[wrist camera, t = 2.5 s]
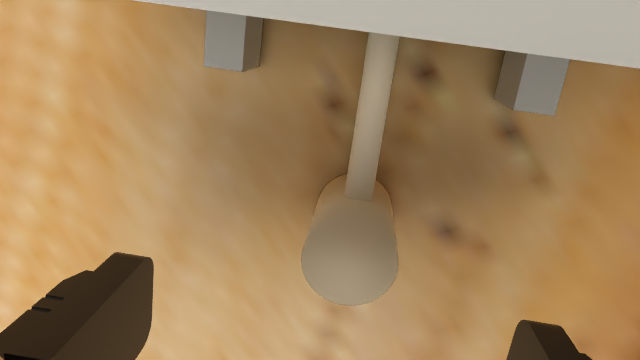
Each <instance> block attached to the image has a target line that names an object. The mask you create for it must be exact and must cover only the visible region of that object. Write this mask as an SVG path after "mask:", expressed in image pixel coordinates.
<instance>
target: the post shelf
mask: <svg viewBox="0 0 640 360" xmlns="http://www.w3.org/2000/svg"><path fill="white" fill-rule="evenodd" d="M134 1H141V2H149V3H156V4H164V5H171V6H179V7H186V8H193V9H201V10H207V14H206V33H205V51H204V67H211V68H218V69H225V70H232V71H239V72H243V71H246V70H249V69H252V68H255V67H258V66H259V61H260V50H261V39H262V27H263V18H268V19H275V20H283V21H290V22H298V23H305V24H312V25H320V26H327V27H335V28H342V29H350V30H357V31H364V32H372V33H379V34H387V35H394V36H402V37H409V38H416V39H424V40H431V41H439V42H446V43H454V44H461V45H468V46H476V47H483V48H491V49H498V50H505V54H504V59H503V63H502V67H501V71H500V76H499V80H498V84H497V88H496V93H495V97H494V99H495V100H496V101H498V102H500V103H502V104H503V105H505V106H507V107H509V108H510V109H512V110H515V111H523V112H530V113H537V114H544V115H551V116H555V112H556V109H557V105H558V102H559V98H560V94H561V91H562V87H563V84H564V80H565V76H566V73H567V69H568V65H569V62H570V59H572V60H580V61H587V62H595V63H602V64H610V65H617V66H624V67H632V68H639V69H640V0H134Z"/></svg>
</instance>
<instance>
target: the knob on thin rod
mask: <svg viewBox="0 0 640 360" xmlns="http://www.w3.org/2000/svg"><path fill="white" fill-rule="evenodd" d="M399 39H400V36H394V35H387V34H379V33H372V32H369V35H368V42H367V48H366V55H365V61H364V68H363V75H362V81H361V88H360V94H359V101H358V107H357V114H356V121H355V127H354V134H353V140H352V147H351V153H350V160H349V167H348V173H347V174H346V175H342V176H339V177H337V178H335V179H333V180H332V181H331V182H329V183H328V184H327V185H326V186H325V187H324V189H323V190H322V192H321V194H320V196H319V199H318V202H317V205H316V209H315V212H314V215H313V218H312V222H311V225H310V228H309V231H308V234H307V238H306V241H305V244H304V247H303V251H302V258H301V262H302V269H303V273H304V276H305V278H306V280H307V282H308V283H309V285H310V286H311V287H312V288H313V289H314V290H315V292H317V293H318V294H319V295H320V296H322V297H323V298H325V299H327V300H329V301H331V302H334V303H337V304H342V305H361V304H365V303H369V302H371V301H373V300H375V299H377V298H379V297H380V296H382V295H383V294H384V293H385V292H386V291H387V290H388V289H389V288H390V287H391V285H392V283H393V282H394V280H395V277H396V275H397V271H398V254H397V245H396V236H395V228H394V219H393V211H392V203H391V199H390V196H389V194H388V192H387V191H386V189H385V188H384V187H383V186H382V185H381V184H380V183H379V182H378V181H376V180H375V179H376V173H377V168H378V162H379V156H380V150H381V144H382V138H383V133H384V127H385V121H386V115H387V109H388V103H389V98H390V92H391V86H392V80H393V74H394V68H395V63H396V57H397V51H398V45H399Z"/></svg>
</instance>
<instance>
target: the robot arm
mask: <svg viewBox="0 0 640 360" xmlns="http://www.w3.org/2000/svg"><path fill="white" fill-rule="evenodd" d="M153 271H154V267H153V261H152V259H151V258H150V257H144V256H138V255H132V254H125V253H119V252H116V253H114V254H112V255H111V256H110V257H109V258H108V259H107V260H106V261H105V262H103V263H102V264H101V265H100V266H99V267H98V268H97V269H96V270H95V271H94V272H93V271H87V270H86V271H83V272H81V273H79V274H77V275H74V276H72V277H70V278H67V279H65V280H63V281H62V282H60V283H59V284H58V285H57V286H56V287H54V288H53V289H52V290H51V291H50V292H49V293H47V294H46V297H45V298H41V299H40V300H39V301H38V302H37V303H36V304H34V305H33V306H32V309H31V310H29V309H28V310H27V311H26V312H25V313H24V314H22V315H21V316H20V317H19V318H18V319H17V320H15V321H14V322H13V323H12V324H11V325H9V326H8V327H7V328H6V329H5V330H3V331H2V332H1V333H0V360H135V359H136V358H137V356H138V355H139V353H140V352H141V350H142V349H143V347H144V345H145V343H146V341H147V338H148V335H149V332H150V327H151V321H152V298H153ZM507 360H592V359H591V358H590V357H588V356H587V355H586V354H582V353H579V352H578V350H577V349H576V347H575V346H574V344H573V343H572V341H571V340H570V338H569V337H568V335H567V334H566V332H565V331H564V329H563V328H562V327H561V326H559V325H553V324H547V323H541V322H535V321H529V320H521V321H520V322H519V323H518V325H517V327H516V330H515V333H514V336H513V340H512V343H511V346H510V350H509V353H508V356H507Z"/></svg>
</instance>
